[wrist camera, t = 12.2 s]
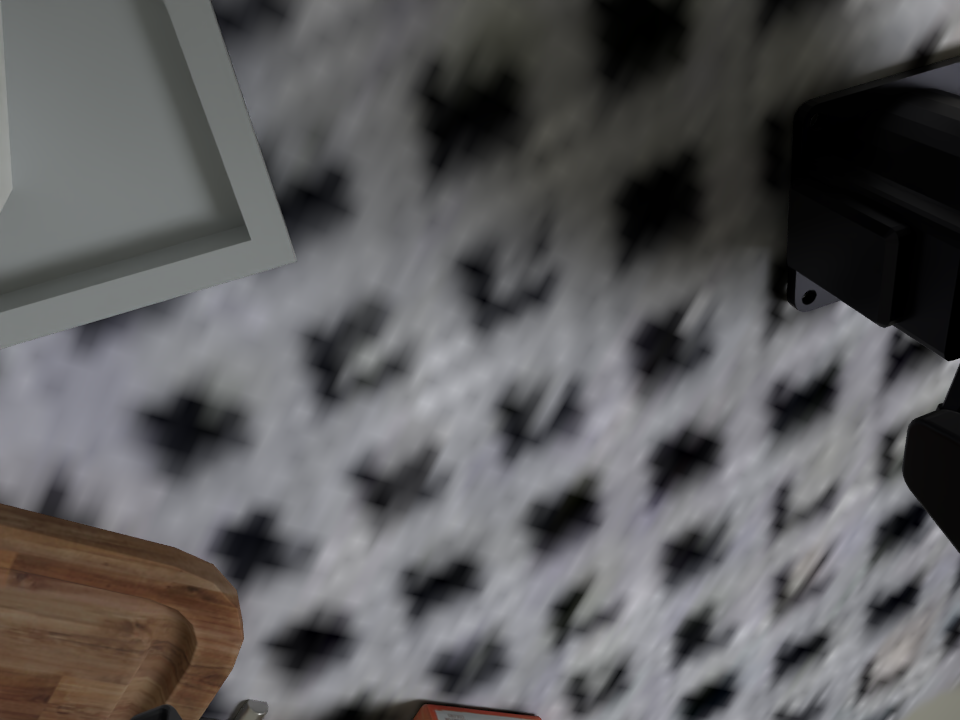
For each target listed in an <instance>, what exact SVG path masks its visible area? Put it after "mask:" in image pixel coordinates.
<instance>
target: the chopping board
mask: <svg viewBox="0 0 960 720" xmlns="http://www.w3.org/2000/svg"><path fill="white" fill-rule="evenodd" d="M243 640H244V633H243V621H242V616H241V610H240V605H239V600H238V595H237V590H236V589H235V588H234V587H233V586H232V585H231V584H230V582H229V581H228V580H227V579H226V578H225V577H224V576H223V575H222V574H221V572H220V571H219V570H218V569H217V568H216V567H215V566H214V565H213V564H211V563H209V562H207V561H204V560H202V559H200V558H197V557H195V556H193V555H191V554H188V553H186V552H184V551H182V550H179V549H177V548H175V547H171V546H167V545H163V544H159V543H155V542H151V541H147V540H143V539H139V538H135V537H131V536H127V535H123V534H119V533H115V532H111V531H107V530H103V529H99V528H96V527H92V526H88V525H84V524H80V523H76V522H72V521H68V520H64V519H60V518H56V517H52V516H48V515H44V514H40V513H36V512H32V511H28V510H24V509H20V508H16V507H12V506H8V505H4V504H0V720H130V719H131V718H132V717H133V716H135V715H137V714H140V713H142V712H145V711H148V710H150V709H153V708H156V707H158V706H161V705H165V704H169V705H171V706H173V707H174V708H175V709H176V711H177V712H178V714H179V715H180V717H181V718H182V720H217V719H211V718H204V717H201V716H202V715H203V713H204V712H205V710H206V709H207V707H208V705H209V704H210V702H211V701H212V699H213V698H214V696H215V695H216V693H217V692H218V690H219V689H220V687H221V686H222V684H223V683H224V681H225V680H226V678H227V677H228V675H229V674H230V672H231V671H232V669H233V667H234V664H235V661H236V659H237V656H238V653H239V650H240V648H241V645H242V642H243ZM268 708H269V707H268V704H267V702H263V701H257V700H251V699H250V700H247V701H246V703H245V704H244V706H243V707H242V709H241V710H240V712H239V713H238V715H237V716H236V718H235V719H234V720H262V719H263V718H264V716H265V715H266V714H267V712H268Z"/></svg>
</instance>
